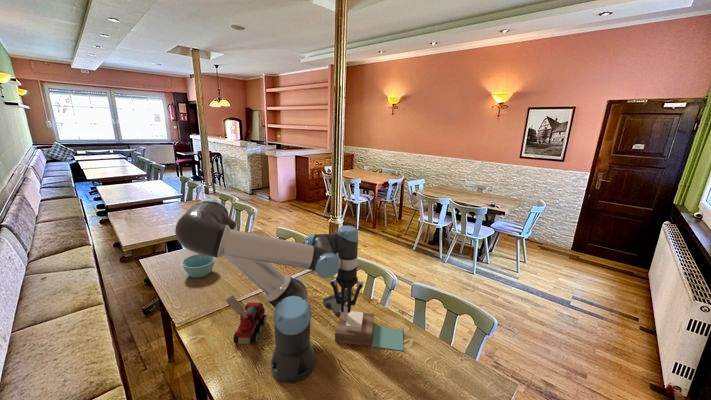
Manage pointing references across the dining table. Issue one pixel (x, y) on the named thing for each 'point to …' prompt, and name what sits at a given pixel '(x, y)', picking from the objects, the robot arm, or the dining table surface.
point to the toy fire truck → (248, 321)
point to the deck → (355, 336)
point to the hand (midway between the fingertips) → (345, 318)
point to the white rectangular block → (354, 321)
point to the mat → (387, 338)
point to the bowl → (198, 265)
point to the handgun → (333, 304)
